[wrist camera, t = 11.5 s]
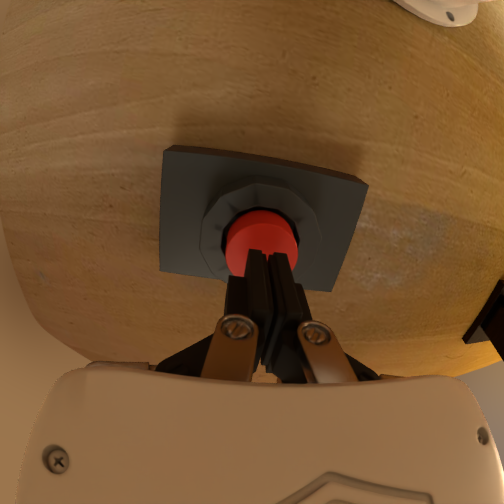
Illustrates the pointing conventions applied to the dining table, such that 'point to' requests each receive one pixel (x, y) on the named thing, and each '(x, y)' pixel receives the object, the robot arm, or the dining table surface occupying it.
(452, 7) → the robot arm
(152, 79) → the dining table surface
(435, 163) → the dining table surface
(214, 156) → the button box
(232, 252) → the button
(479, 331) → the bracket
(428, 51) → the dining table surface
